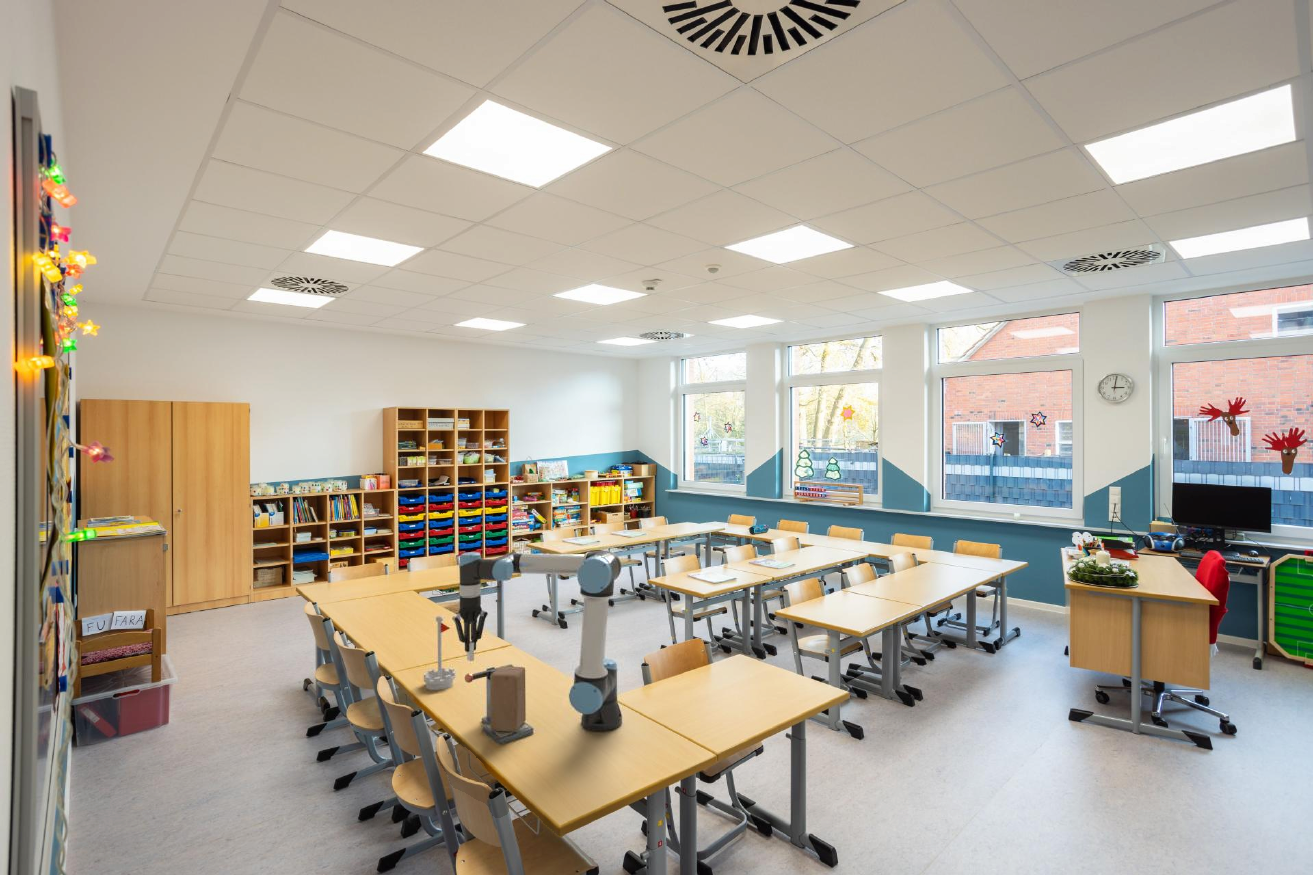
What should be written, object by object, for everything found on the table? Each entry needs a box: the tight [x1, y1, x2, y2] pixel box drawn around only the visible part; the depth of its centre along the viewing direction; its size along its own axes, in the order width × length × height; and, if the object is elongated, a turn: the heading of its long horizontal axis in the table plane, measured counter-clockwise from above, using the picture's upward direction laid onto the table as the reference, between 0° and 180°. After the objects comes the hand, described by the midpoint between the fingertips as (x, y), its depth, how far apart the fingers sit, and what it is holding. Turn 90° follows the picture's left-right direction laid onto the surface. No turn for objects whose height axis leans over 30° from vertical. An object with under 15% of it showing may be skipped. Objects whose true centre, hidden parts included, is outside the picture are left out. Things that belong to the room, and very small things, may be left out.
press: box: [481, 666, 534, 746], centre depth 232 cm, size 22×13×20 cm, turn 40°
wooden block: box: [490, 665, 527, 732], centre depth 229 cm, size 10×10×20 cm
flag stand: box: [423, 615, 457, 691], centre depth 275 cm, size 13×13×30 cm
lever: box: [464, 663, 515, 684], centre depth 237 cm, size 3×20×6 cm, turn 130°
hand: (470, 659), depth 232 cm, fingers closed
